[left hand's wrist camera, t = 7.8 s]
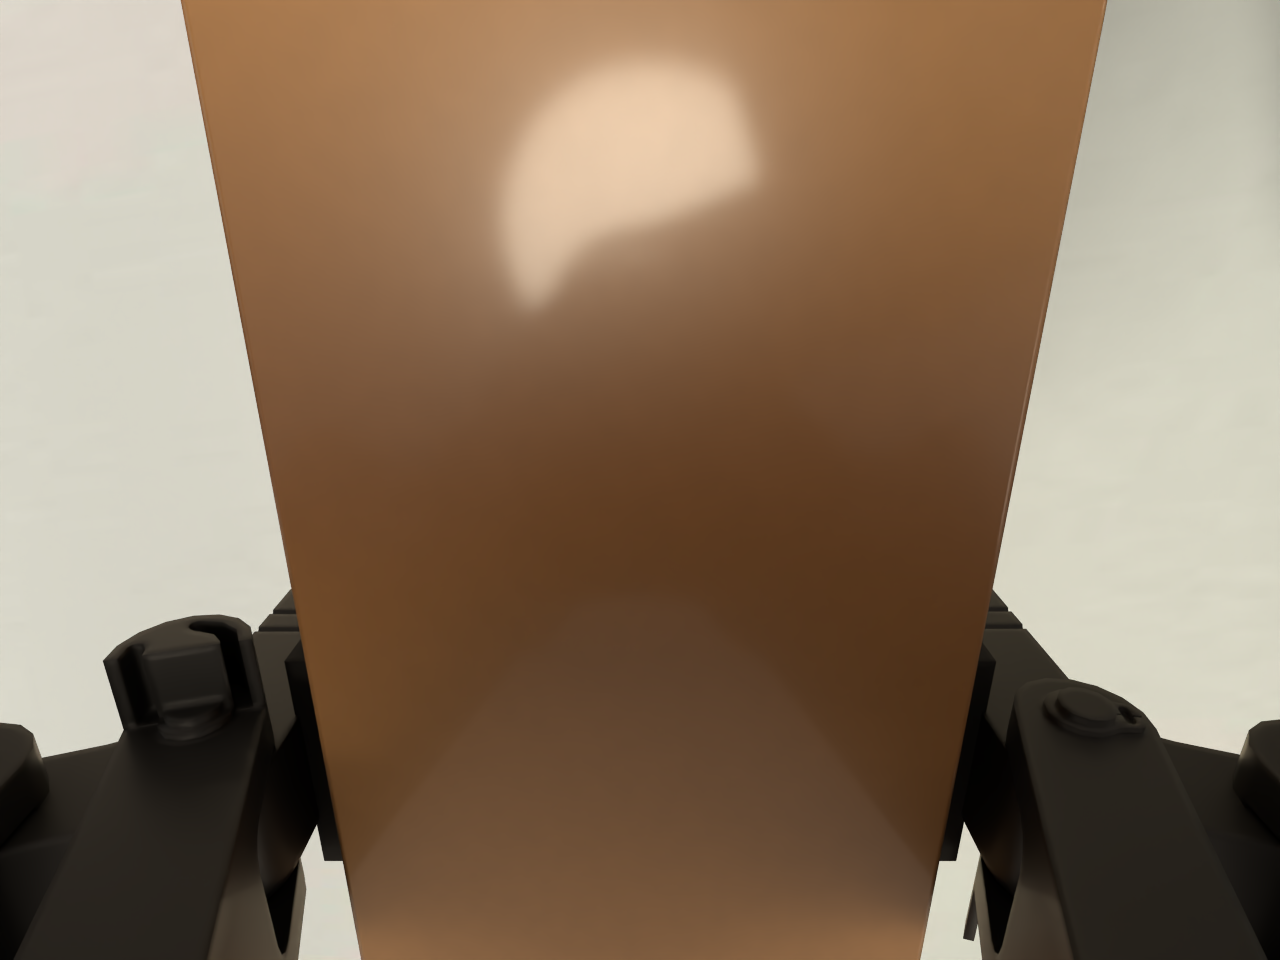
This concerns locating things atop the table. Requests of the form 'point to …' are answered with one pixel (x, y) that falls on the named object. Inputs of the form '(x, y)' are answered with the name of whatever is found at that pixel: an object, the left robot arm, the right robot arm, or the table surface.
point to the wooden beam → (642, 440)
